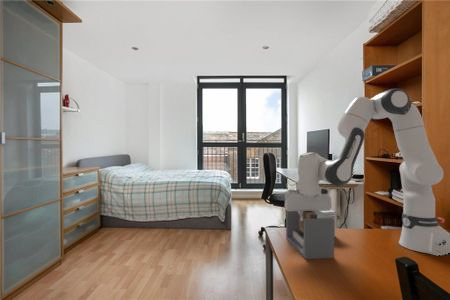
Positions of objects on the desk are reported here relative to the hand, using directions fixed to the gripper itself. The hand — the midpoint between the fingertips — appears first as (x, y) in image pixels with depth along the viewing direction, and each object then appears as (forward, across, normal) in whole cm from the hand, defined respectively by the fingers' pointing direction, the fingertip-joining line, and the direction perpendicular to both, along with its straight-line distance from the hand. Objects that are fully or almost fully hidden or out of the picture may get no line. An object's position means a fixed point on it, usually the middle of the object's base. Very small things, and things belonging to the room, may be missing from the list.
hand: (307, 220), depth 109 cm
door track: (+12, 0, 0) cm, 12 cm away
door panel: (+6, 0, 0) cm, 6 cm away
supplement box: (+12, +15, +14) cm, 24 cm away
